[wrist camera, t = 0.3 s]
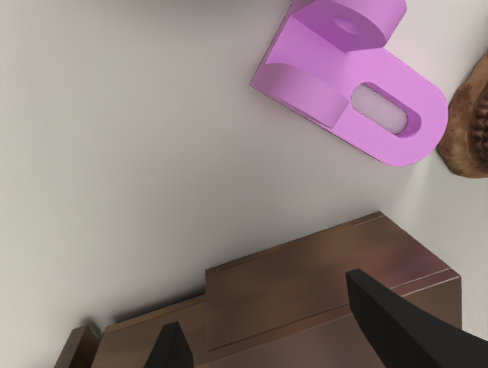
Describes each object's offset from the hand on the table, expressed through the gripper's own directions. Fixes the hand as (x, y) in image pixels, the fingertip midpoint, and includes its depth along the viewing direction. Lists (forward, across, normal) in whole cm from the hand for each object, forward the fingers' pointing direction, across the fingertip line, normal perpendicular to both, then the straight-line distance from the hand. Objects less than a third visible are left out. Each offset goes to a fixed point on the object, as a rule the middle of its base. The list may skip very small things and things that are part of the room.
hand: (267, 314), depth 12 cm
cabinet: (+10, -4, +10) cm, 15 cm away
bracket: (+10, -9, -6) cm, 15 cm away
